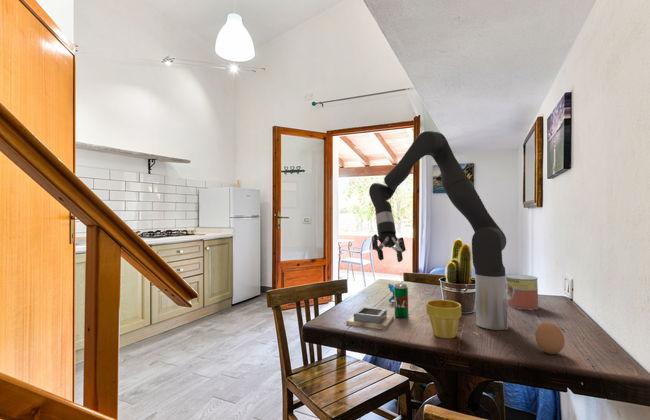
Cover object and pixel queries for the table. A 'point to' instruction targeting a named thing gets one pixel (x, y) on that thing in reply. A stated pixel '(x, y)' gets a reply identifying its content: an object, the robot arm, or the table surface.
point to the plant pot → (444, 317)
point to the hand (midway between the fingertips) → (391, 260)
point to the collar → (370, 315)
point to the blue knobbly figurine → (391, 291)
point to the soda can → (401, 300)
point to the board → (383, 325)
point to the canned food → (522, 291)
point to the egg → (549, 338)
